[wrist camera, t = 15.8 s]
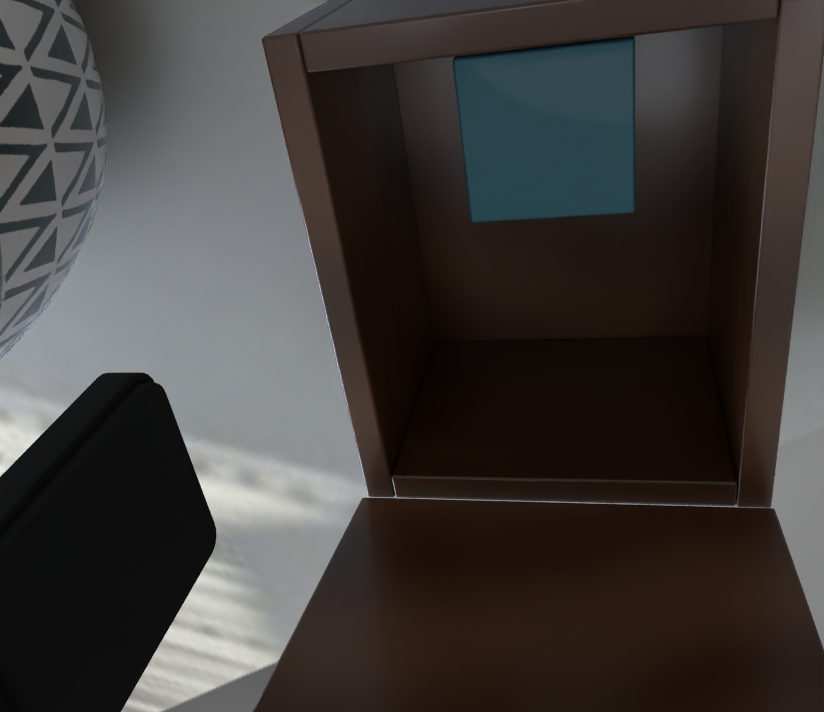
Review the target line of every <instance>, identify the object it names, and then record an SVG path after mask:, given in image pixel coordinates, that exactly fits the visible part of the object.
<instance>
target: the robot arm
mask: <svg viewBox="0 0 824 712" xmlns="http://www.w3.org/2000/svg"><path fill="white" fill-rule="evenodd" d="M215 543H216V527H215V524H214V521H213V518H212V516H211V513H210V510H209V508H208V505H207V502H206V499H205V497H204V494H203V491H202V489H201V486H200V483H199V481H198V478H197V475H196V473H195V470H194V467H193V465H192V462H191V459H190V457H189V454H188V451H187V449H186V446H185V443H184V441H183V438H182V435H181V433H180V430H179V427H178V425H177V422H176V419H175V416H174V414H173V411H172V408H171V406H170V403H169V400H168V398H167V395H166V393H165V391H164V389H163V387H162V386H161V385H160V384H157V383H154V381H153V379H152V378H151V377H150V376H149V375H148V374H145V373H105V374H102V375H101V376H99V377H98V378H97V379H96V380H95V381H94V382H93V383H92V384H91V385H90V386H89V387H88V388H87V389H86V390H85V391H84V392H83V393H82V394H81V395H80V396H79V397H78V398H77V399H76V400H75V401H74V402H73V403H72V404H71V405H70V406H69V407H68V408H67V409H66V410H65V411H64V413H63V414H62V415H61V416H60V417H59V418H58V419H57V420H56V421H55V422H54V423H53V424H52V425H51V426H50V427H49V428H48V429H47V430H46V431H45V432H44V433H43V434H42V435H41V436H40V437H39V438H38V439H37V440H36V441H35V442H34V443H33V444H32V445H31V446H30V447H29V448H28V449H27V450H26V451H25V452H24V453H23V454H22V455H21V456H20V457H19V458H18V459H17V460H16V461H15V462H14V464H13V465H12V466H11V467H10V468H9V469H8V470H7V471H6V472H5V473H4V474H3V475H2V476H1V477H0V712H121V710H122V709H123V707H124V705H125V703H126V702H127V700H128V698H129V697H130V695H131V693H132V691H133V690H134V688H135V686H136V684H137V683H138V681H139V679H140V677H141V676H142V674H143V672H144V670H145V669H146V667H147V665H148V664H149V662H150V660H151V658H152V657H153V655H154V653H155V651H156V650H157V648H158V646H159V644H160V643H161V641H162V639H163V637H164V636H165V634H166V632H167V631H168V629H169V627H170V625H171V624H172V622H173V620H174V618H175V617H176V615H177V613H178V611H179V610H180V608H181V606H182V604H183V603H184V601H185V599H186V598H187V596H188V594H189V592H190V591H191V589H192V587H193V585H194V584H195V582H196V580H197V578H198V577H199V575H200V573H201V571H202V570H203V568H204V566H205V565H206V563H207V561H208V559H209V558H210V556H211V554H212V552H213V550H214V547H215Z"/></svg>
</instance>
